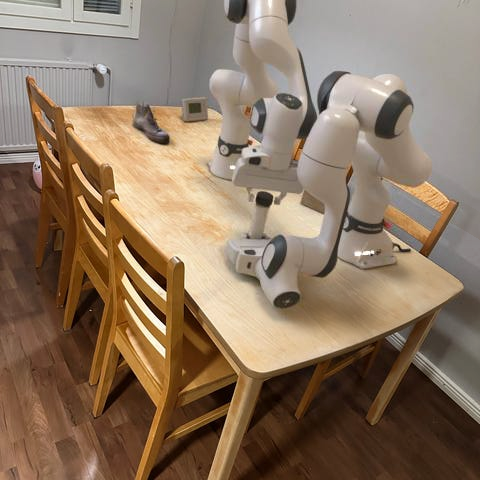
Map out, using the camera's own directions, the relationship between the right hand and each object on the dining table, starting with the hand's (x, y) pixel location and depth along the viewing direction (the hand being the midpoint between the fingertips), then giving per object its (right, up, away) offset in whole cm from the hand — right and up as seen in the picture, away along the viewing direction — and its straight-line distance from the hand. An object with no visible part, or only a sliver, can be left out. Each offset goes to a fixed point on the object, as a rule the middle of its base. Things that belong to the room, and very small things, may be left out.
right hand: (253, 234), depth 132 cm
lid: (+3, +11, -8) cm, 14 cm away
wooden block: (+25, +12, +38) cm, 47 cm away
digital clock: (-28, +60, +93) cm, 115 cm away
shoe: (-44, +46, +66) cm, 91 cm away
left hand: (+3, +9, -7) cm, 12 cm away
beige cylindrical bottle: (-1, -5, +2) cm, 5 cm away
